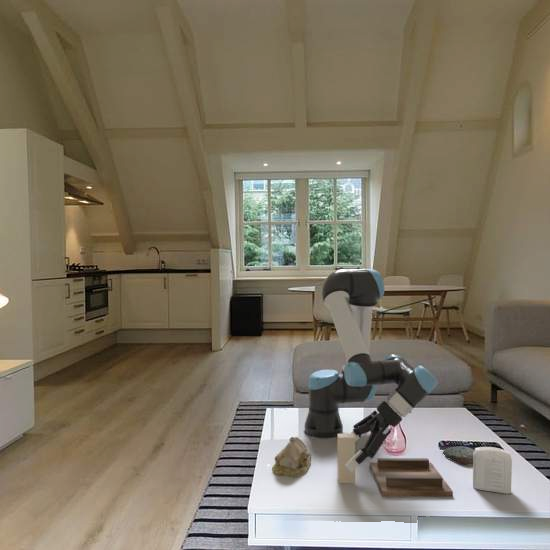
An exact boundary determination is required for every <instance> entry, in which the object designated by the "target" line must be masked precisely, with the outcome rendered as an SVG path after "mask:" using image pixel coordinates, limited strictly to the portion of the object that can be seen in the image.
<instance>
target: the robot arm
mask: <svg viewBox="0 0 550 550" xmlns="http://www.w3.org/2000/svg"><path fill="white" fill-rule="evenodd" d="M321 288H322V289H321V296H322V297H321V298H322V301H323V304H324V306H325V307H326V308H327V309H328V310H329V313H330V316H331V318H332V321H333V324H334V328H335V330H336V332H337V333H336V334H337V336H338V338H339V342H340V344H341V346H342V349H343V352H344V355H345V358H346V362H345V364H344V365H342V368H341V373H339V372H338V370H335V369H321V370H317V371H314V372H313V373H311V374H310V375H309V377H308V385H307V387H308V413H307V415H306V418H305V423H304V432H305V434H307V435H309V436H312V437H316V438H323V439H325V438H327V439H329V438H335V437H336V438H337V434H343V432H344V429H343V428H344V426H343V423H342V419H341V416H340V413H339V405H341V404H350V403H363V402H369V401H371V400H372V399H373V398H374V397H375V396H376V392H377V387H378V386H380V385H393V384H396V386H397V387H396V388H394V390H393V391H392V392H390V394H388V396H387V397H386V398H385V400H383V401H382V402H381V403H380V404H378V406H377V407H376V410H374V411H372V412H371V413H370V414H369V415H367V416H366V417H364V418H363V419H361V420H359V421H358V422H357V423H355V424H354V425H353V427H352V428H353V429H352V431H351V432H350V433H349V434H354V436H355V443H356V442H357V441H358V440H359V439H360V438H361V437H362V435H364V434H367V433H369V432H370V434H369V436H368V439H367V440H366V442H365V444H364V445H363V447H360V449H359V450H358V451H357V452H355V455H354V456H353V457H352V458H351V459H350V460H349V461H348V462H347V463H346V464H345V466H346V467H347V468H348V469H349V470H350V471H351V472H353V471H354V470H355V471H356V470H357V468H358V467H359V466H360V465H362V463H363V462H364V461H365V460H366V459H367V458H370V459H373V458H374V457H375V456H376V454H377V452H378V451H379V450H380V448H381V447H382V445H383V444H384V442H385V440H386V439H387V438H388V436H390V434H391V432H392V430H391V429H390V427H389V426H391V427H393V428H396V427H397V426H398V425H399V424H400V423H401V422H402V421H403V418H406V417H407V416H408V415H409V414H411V413H412V411H413V410H414V408H416V407H417V406H418V405H419V404H420V403H421V402H422V401H423V400H424V399H425V398H426V397H427V396H429V394H430V393H432V391H433V390H434V389H435V388H436V387H437V385H438V379H437V378H436V377H435V376H434V375H433V374H432V373H431V372H430V371H429V370H428V369H426V368H425V367H424V366H423V365H418V366H416V367H415V368H414V366H413V365H411V364H410V363H409V362H408V361H407V360H406V359H404V358H402V357H401V356H400V355H398V354H390V355H388V356H386V357H385V358H384V360H383V359H382V360H372V358H371V356H370V349H371V348H370V346H371V337H372V335H371V333H372V323H373V322H372V321H373V320H372V319H373V309H374V308H376V307H377V305H378V300H381V299H382V298H383V296H384V294H385V282H384V279H383V277H382V274H381V273H380V272H379V271H378V270H376V269H370V268H358V269H357V268H355V269H354V268H353V269H352V268H351V269H342V268H341V269H337V270H335V271H333V272H331V273H330V274H329V275H328V276H327V277H326V279H325V280H324V282H323V284H322V287H321ZM377 385H378V386H377Z"/></svg>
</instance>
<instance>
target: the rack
mask: <svg viewBox="0 0 550 550" xmlns="http://www.w3.org/2000/svg"><path fill="white" fill-rule="evenodd" d="M376 460H377V462H375V461H374V462H369V469H370V470H371V471H370V472H371V473H373V474H372V476H373V478H374V481H375V482H376V485H377V487H378V489H379V492H380V494H381V496H382V497H454V495H453V493H454V492H453V490H452V488H451V486H450V485H449V484H448V483H447V482H446V480H445V479H444V477H443V476H442V475H441V473H440V472H439V471H438V470H437V468H436V467H435V466H434V464H433V463H432V462H430V460H429V458H426V457H425V458H424V457H423V458H422V457H419V458H417V457H415V458H413V457H412V458H407V457H406V458H404V457H401V458H399V457H395V458H393V457H392V458H389V457H388V458H387V457H385V458H384V457H383V458H382V457H381V458H380V457H379V458H377V459H376Z"/></svg>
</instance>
